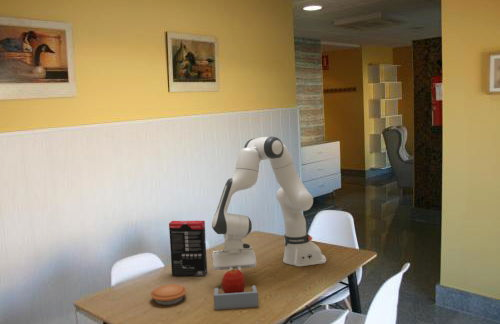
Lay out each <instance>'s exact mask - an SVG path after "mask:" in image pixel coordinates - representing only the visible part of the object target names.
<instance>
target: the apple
mask: <svg viewBox="0 0 500 324" xmlns="http://www.w3.org/2000/svg"><path fill="white" fill-rule="evenodd" d="M221 286H222V287H221V288H222V291H223V294H225V293H240V292H245V290H246V289H245V288H246V278H245V275H244V274H243V272H242V270H241V271H240V270H238V269H233V270H230V269H229V270H228V271H226V272H225V273H224V275H223V276H222V280H221Z"/></svg>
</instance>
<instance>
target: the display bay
mask: <svg viewBox="0 0 500 324" xmlns="http://www.w3.org/2000/svg"><path fill="white" fill-rule="evenodd" d="M251 289H252V291H244V292H240V293H219V287H215V288H214V293H213V303H214V306H213V307H214V308H213V309H214V311H216V310H217V311H218V310H231V309H246V308H258V307H259V293H258V291H257V287H256V285H252V288H251Z"/></svg>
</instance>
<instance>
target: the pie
mask: <svg viewBox="0 0 500 324" xmlns="http://www.w3.org/2000/svg"><path fill="white" fill-rule="evenodd" d="M187 290H188V289H187V288H186V287H185V286H182V285H179V284H175V283H174V284H171V283H170V284H164V285H161V286H158V287H157V288H154V289H153V290H152V291H151V292H150V297H151V298H152V299H153V300H154V301H155V302H156V303H157V304H158V305H161V304H162V305H161V306H171V305H175V304H178V303H180V302H181V301H182V300H183V298H184V297H185V295H186V293H187Z"/></svg>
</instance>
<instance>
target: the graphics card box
mask: <svg viewBox="0 0 500 324" xmlns="http://www.w3.org/2000/svg"><path fill="white" fill-rule="evenodd" d="M168 230H169V232H168V233H169V244H170V245H169V246H170V263H171V265H170V266H171V276H173V277H176V276H177V277H179V276H180V277H205V276H206V274H207V273H208V263H207V262H208V261H207V260H208V259H207V258H208V257H207V243H206V241H207V240H206V222H205V220H172V221H170V222H169V223H168Z"/></svg>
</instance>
